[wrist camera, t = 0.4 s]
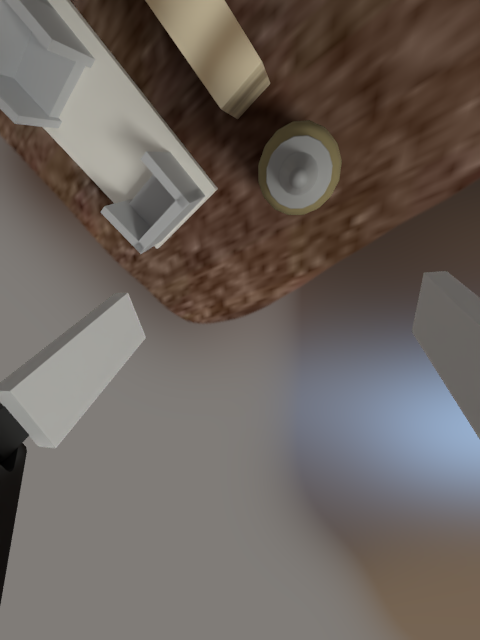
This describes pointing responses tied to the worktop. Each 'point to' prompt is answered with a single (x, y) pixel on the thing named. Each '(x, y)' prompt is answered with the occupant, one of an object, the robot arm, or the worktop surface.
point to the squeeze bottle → (299, 168)
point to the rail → (215, 50)
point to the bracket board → (97, 119)
